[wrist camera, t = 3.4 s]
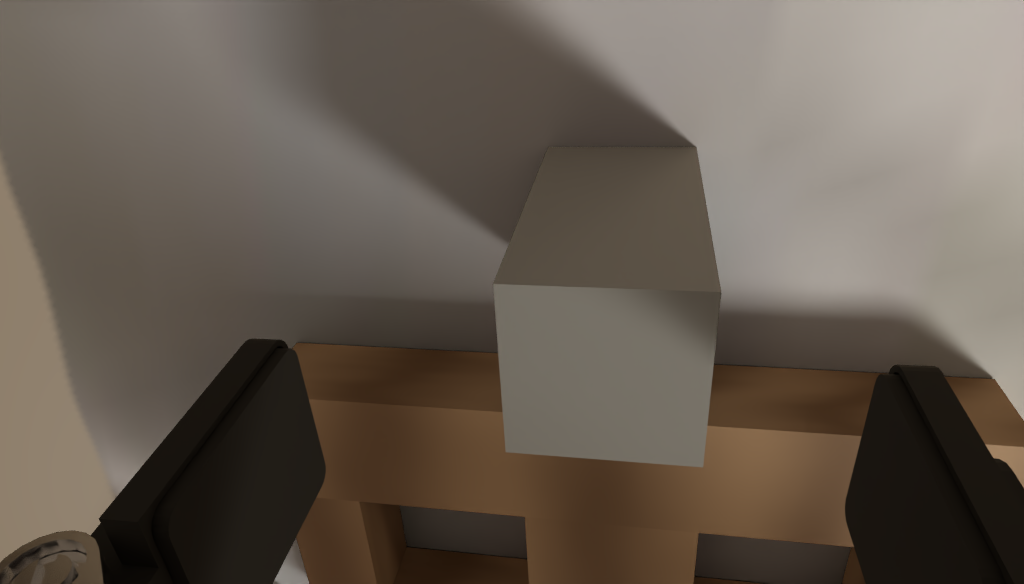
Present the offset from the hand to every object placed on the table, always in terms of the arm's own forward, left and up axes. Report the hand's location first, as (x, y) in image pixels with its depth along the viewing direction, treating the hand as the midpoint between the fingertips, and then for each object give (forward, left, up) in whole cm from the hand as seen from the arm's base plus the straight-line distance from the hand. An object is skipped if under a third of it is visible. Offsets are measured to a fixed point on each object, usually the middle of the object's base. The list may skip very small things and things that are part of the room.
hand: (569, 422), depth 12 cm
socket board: (0, +13, -10) cm, 16 cm away
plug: (0, +1, -10) cm, 10 cm away
